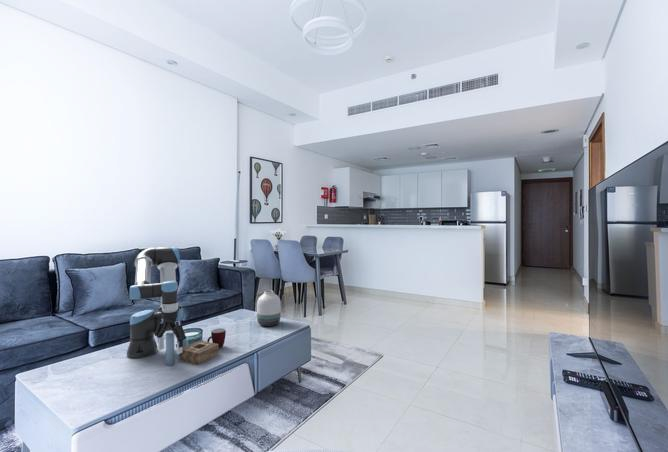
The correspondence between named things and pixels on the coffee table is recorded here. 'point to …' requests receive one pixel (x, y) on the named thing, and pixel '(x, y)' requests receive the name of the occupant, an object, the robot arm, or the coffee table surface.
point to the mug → (218, 336)
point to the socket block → (199, 352)
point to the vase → (268, 309)
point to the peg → (170, 349)
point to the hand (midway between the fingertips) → (170, 351)
